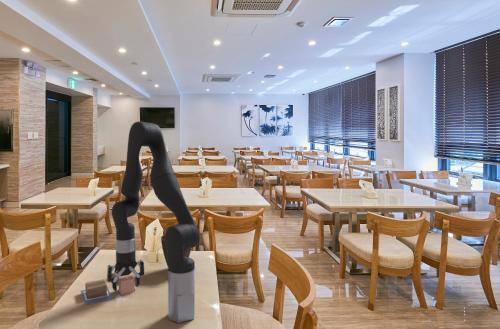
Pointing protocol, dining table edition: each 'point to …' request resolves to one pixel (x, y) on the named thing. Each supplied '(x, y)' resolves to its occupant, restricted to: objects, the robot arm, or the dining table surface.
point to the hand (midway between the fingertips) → (126, 288)
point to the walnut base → (96, 289)
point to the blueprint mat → (97, 299)
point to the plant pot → (185, 252)
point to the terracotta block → (126, 284)
